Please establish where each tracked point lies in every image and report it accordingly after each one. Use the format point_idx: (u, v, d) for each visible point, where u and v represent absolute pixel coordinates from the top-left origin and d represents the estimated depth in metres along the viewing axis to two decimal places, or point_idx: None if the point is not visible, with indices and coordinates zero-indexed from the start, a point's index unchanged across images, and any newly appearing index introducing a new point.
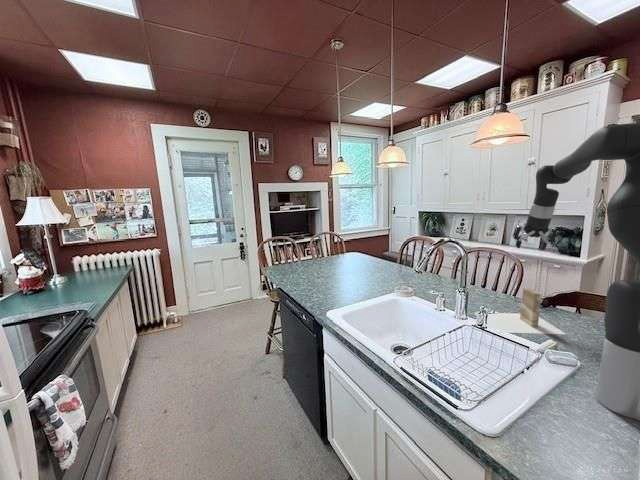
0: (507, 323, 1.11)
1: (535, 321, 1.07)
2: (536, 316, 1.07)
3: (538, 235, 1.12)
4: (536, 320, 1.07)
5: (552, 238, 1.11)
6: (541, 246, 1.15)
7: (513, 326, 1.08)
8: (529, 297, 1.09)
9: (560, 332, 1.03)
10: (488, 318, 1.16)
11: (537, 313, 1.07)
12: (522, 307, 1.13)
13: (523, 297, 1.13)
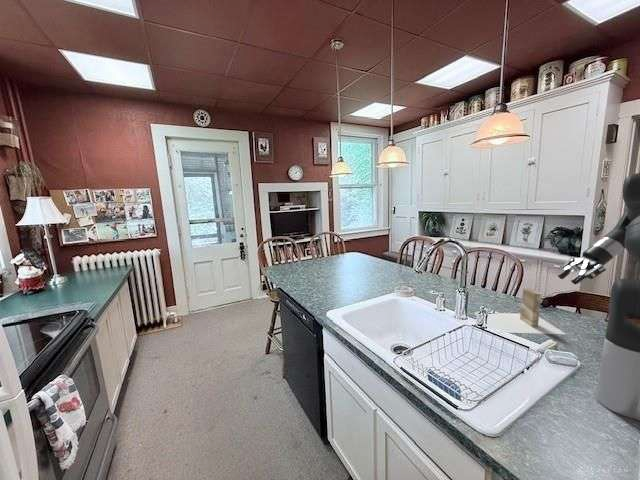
0: (507, 323, 1.11)
1: (535, 321, 1.07)
2: (536, 316, 1.07)
3: (582, 265, 1.05)
4: (536, 320, 1.07)
5: (589, 271, 1.01)
6: None
7: (513, 326, 1.08)
8: (529, 297, 1.09)
9: (560, 332, 1.03)
10: (488, 318, 1.16)
11: (537, 313, 1.07)
12: (522, 307, 1.13)
13: (523, 297, 1.13)
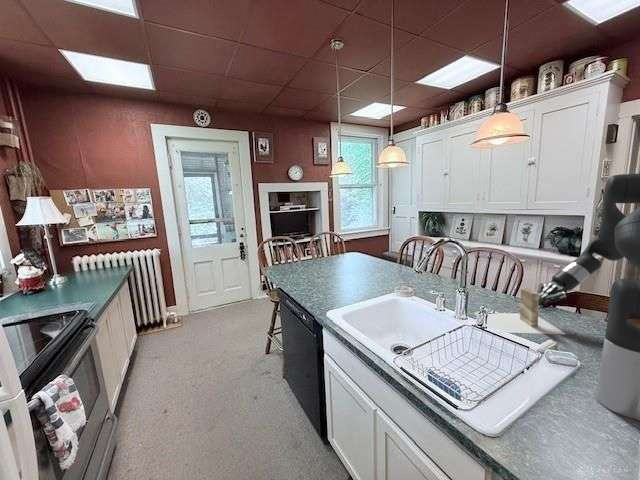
0: (507, 323, 1.11)
1: (535, 321, 1.07)
2: (535, 316, 1.07)
3: None
4: (536, 320, 1.07)
5: (550, 295, 1.05)
6: None
7: (513, 326, 1.08)
8: (527, 297, 1.09)
9: (560, 332, 1.03)
10: (488, 318, 1.16)
11: (536, 313, 1.07)
12: (521, 307, 1.13)
13: (521, 297, 1.13)
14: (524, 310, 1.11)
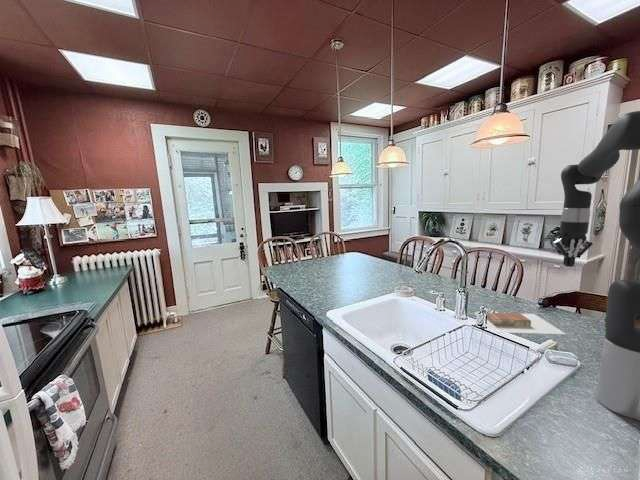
0: None
1: (524, 323, 1.08)
2: (519, 322, 1.08)
3: (574, 244, 0.97)
4: (523, 322, 1.08)
5: (582, 251, 0.97)
6: None
7: (513, 326, 1.08)
8: None
9: (560, 332, 1.03)
10: None
11: (515, 322, 1.08)
12: None
13: None
14: None
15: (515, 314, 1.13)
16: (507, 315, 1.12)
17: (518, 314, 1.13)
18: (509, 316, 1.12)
